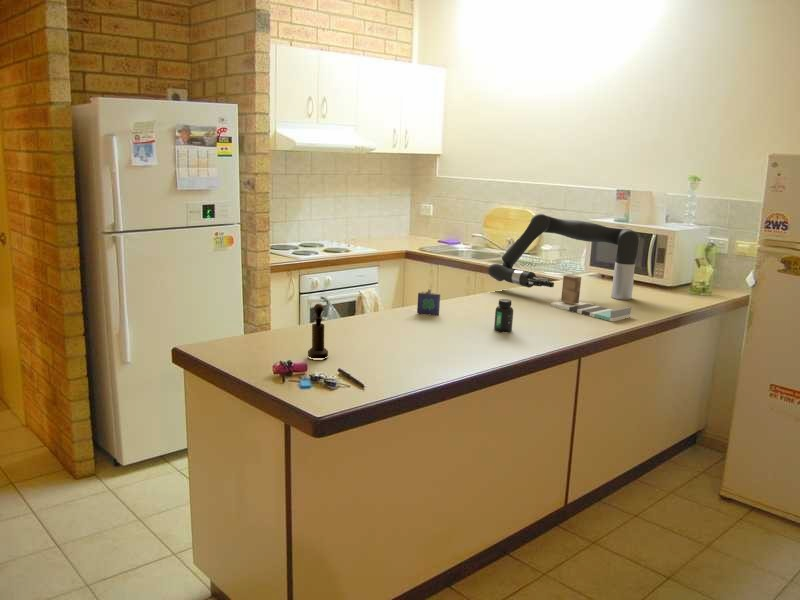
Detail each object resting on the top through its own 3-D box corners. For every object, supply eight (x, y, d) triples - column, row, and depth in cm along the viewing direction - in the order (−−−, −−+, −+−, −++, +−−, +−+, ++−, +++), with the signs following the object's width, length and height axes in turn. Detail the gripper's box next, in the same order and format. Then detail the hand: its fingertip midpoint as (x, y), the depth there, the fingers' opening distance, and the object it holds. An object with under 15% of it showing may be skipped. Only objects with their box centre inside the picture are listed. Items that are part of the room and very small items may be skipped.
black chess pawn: (308, 354, 226) (309, 301, 222) (328, 354, 227) (329, 301, 223) (307, 360, 220) (308, 306, 216) (327, 361, 220) (328, 306, 216)
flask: (439, 314, 288) (440, 288, 285) (439, 315, 285) (440, 290, 282) (417, 312, 288) (418, 287, 286) (416, 314, 285) (418, 289, 283)
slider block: (567, 300, 315) (570, 274, 313) (578, 303, 311) (581, 276, 308) (560, 301, 312) (563, 275, 309) (572, 304, 308) (574, 278, 305)
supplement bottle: (498, 333, 263) (500, 302, 260) (491, 328, 269) (493, 298, 266) (514, 332, 264) (517, 302, 262) (507, 327, 271) (509, 298, 268)
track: (569, 302, 320) (570, 293, 319) (630, 317, 297) (631, 307, 296) (550, 306, 311) (551, 296, 310) (611, 321, 288) (613, 311, 287)
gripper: (515, 271, 325) (544, 278, 312) (533, 269, 333) (562, 275, 321) (514, 287, 327) (543, 294, 314) (531, 284, 335) (560, 291, 322)
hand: (553, 285), depth 317 cm, fingers closed
